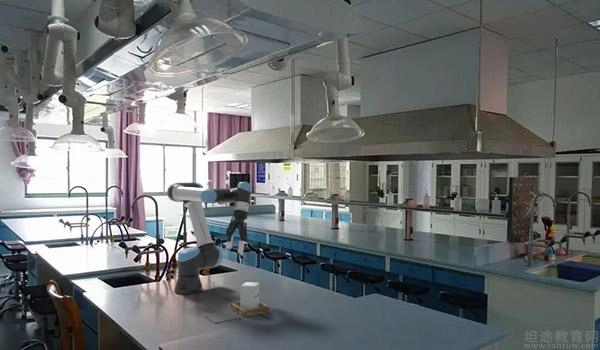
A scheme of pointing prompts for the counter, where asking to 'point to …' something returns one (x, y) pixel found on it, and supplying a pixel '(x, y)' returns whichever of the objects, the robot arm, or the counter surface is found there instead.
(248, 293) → the supplement box
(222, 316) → the mat
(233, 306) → the crate
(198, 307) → the counter surface
